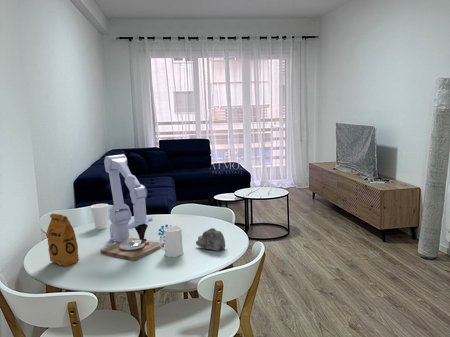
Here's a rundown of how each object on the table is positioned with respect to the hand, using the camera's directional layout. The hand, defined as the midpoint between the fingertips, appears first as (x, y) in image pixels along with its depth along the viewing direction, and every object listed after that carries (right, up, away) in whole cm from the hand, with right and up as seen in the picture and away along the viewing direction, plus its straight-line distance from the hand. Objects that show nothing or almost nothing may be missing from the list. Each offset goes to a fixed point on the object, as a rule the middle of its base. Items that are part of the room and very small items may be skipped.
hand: (141, 239), depth 187 cm
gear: (+11, -3, +12) cm, 17 cm away
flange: (-4, -3, +1) cm, 5 cm away
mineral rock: (+33, -4, -1) cm, 33 cm away
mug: (+15, -6, -7) cm, 18 cm away
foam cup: (-32, 0, +39) cm, 50 cm away
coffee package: (-32, -8, -11) cm, 35 cm away
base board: (-5, -5, +1) cm, 7 cm away
